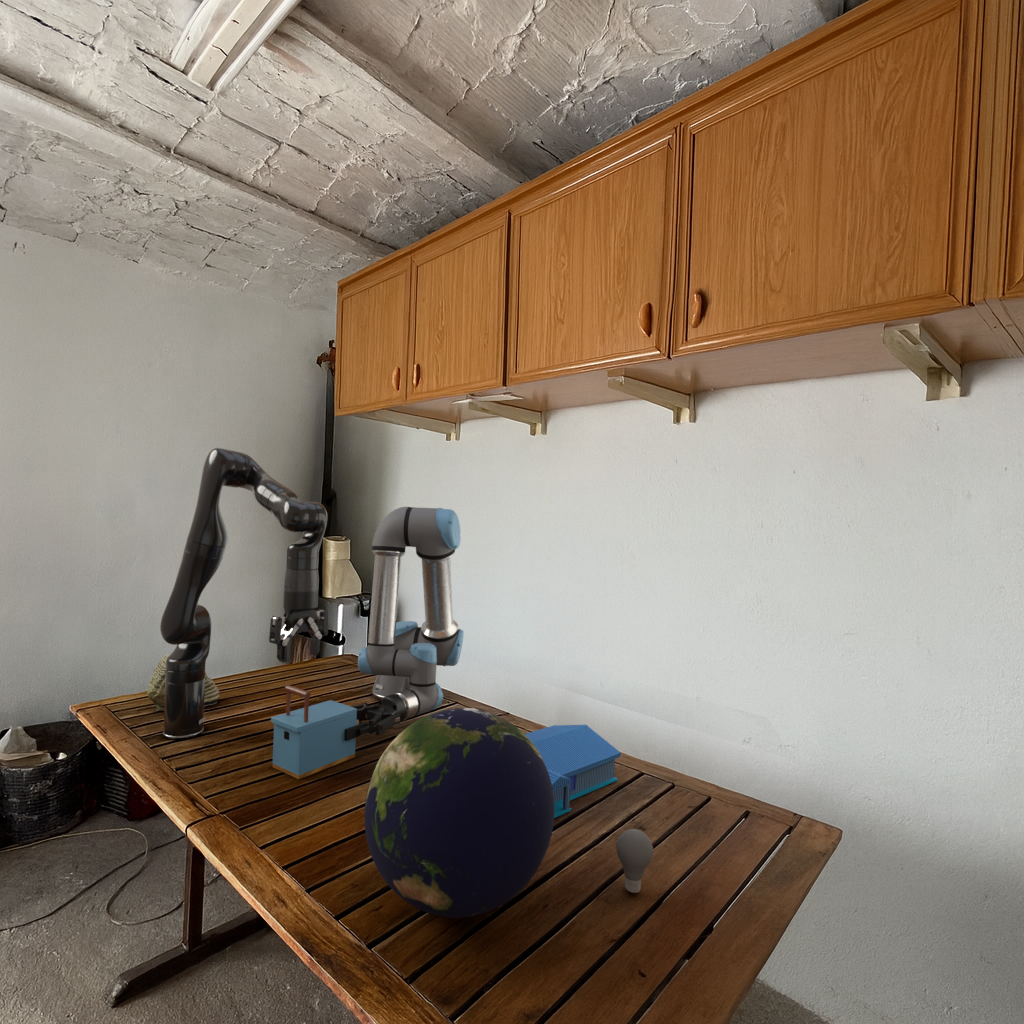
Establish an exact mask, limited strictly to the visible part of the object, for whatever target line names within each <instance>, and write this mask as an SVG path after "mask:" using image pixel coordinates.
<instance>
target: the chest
mask: <svg viewBox="0 0 1024 1024" xmlns="http://www.w3.org/2000/svg"><path fill="white" fill-rule="evenodd" d="M356 719H357V714H353V715H350V716H347V717H343V718H340V719H337V720H334V721H331V722H328V723H325V724H322V725H319V726H316V727H313V728H310V729H307V730H303V731H300V732H295V731H292V730H290V729H287V728H284V727H282V726H279V725H277V724H274V723H273V742H272V743H273V745H272V763H271V764H272V768H274V769H275V770H277V771H280V772H282V773H284V774H286V775H289V776H290V777H293V778H295V779H297V780H301V779H303V778H306V777H308V776H311V775H313V774H316V773H318V772H321V771H323V770H326V769H328V768H332V767H334V766H336V765H338V764H342V763H343V762H346V761H349V760H352V759H353V758H356V741H357V737H356V738H354V739H351V740H348V741H345V729H347V728H350V727H353V726H356Z"/></svg>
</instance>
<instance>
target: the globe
mask: <svg viewBox="0 0 1024 1024" xmlns="http://www.w3.org/2000/svg"><path fill="white" fill-rule="evenodd" d="M525 734H526V733H524V732H523V731H522V730H521V729H520V728H519V727H517V726H516V725H514V724H513V723H512V722H510V721H509V720H507V719H506V718H503V717H501V716H499V715H497V714H495V713H492V712H489V711H487V710H486V711H485V710H482V709H478V708H472V707H463V708H462V707H461V708H449V709H442V710H440V711H437V712H433V713H430V714H428V715H426V716H424V717H422V718H420V719H417V720H416V721H415V722H413V723H412V724H410V725H409V726H407V727H406V728H405V729H403V730H402V731H401V732H400V733H399V734H398V735H397V736H396V737H395V738H394V739H393V740H392V741H391V742H390V743H389V744H388V746H387V747H386V748H385V750H384V752H382V754H381V755H380V757H379V759H378V761H377V763H376V765H375V767H374V770H373V772H372V774H371V777H370V781H369V784H368V787H367V791H366V795H365V800H364V801H365V803H364V811H363V814H364V830H365V831H364V832H365V838H366V842H367V846H368V850H369V853H370V856H371V859H372V861H373V863H374V865H375V868H376V869H377V871H378V872H379V875H380V876H381V877H382V879H383V880H384V882H385V883H386V884H387V885H388V887H389V888H390V889H391V890H392V891H393V892H394V893H395V894H396V895H397V896H398V897H399V898H401V900H403V901H405V902H406V903H407V904H409V905H410V906H412V907H414V908H415V909H417V910H419V911H421V912H425V913H426V914H429V915H433V916H437V917H440V918H441V917H442V918H451V919H460V918H461V919H462V918H470V917H475V916H479V915H482V914H486V913H489V912H491V911H493V910H495V909H497V908H499V907H501V906H503V905H504V904H506V903H507V902H509V901H510V900H512V899H513V898H514V897H515V896H516V895H518V894H519V893H520V892H521V891H522V890H523V889H524V888H525V887H526V886H527V885H528V884H529V883H530V881H531V880H532V878H533V877H534V876H535V875H536V873H537V871H538V870H539V868H540V866H541V865H542V862H543V861H544V858H545V856H546V854H547V852H548V848H549V846H550V843H551V838H552V835H553V834H552V833H553V830H554V822H555V818H554V795H553V789H552V784H551V780H550V777H549V773H548V770H547V768H546V766H545V763H544V760H543V758H542V757H541V755H540V753H539V752H538V750H537V748H536V747H535V745H534V744H533V743H532V742H531V741H530V739H529V738H528V737H527V736H526V735H525Z"/></svg>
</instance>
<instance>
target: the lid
mask: <svg viewBox="0 0 1024 1024" xmlns="http://www.w3.org/2000/svg"><path fill="white" fill-rule="evenodd" d="M284 691H285V692H286V693H285V694H286V695H285V697H286V698H285V712H284V713H282V714H278V715H275V716H272V717H270V723H273V725H274V724H277V725H279V726H282V727H284V728H287V729H290V730H292V731H295V732H300V731H303V730H307V729H310V728H313V727H316V726H319V725H322V724H325V723H328V722H331V721H334V720H337V719H340V718H343V717H347V716H350V715H353V714H356V713H357V709H356V708H353V707H350V706H351V705H347V704H345V703H341V702H338V701H335V700H332V699H329V700H326V701H322V702H319V703H316V704H313V705H310V704H309V703H310V698H311V696H312V694H311V692H310V691H308V690H305V689H302V688H300V687H296V686H293V685H290V684H287V685H285V687H284ZM292 694H293V695H294V696H295V695H296V696H299V697H302V698H304V705H303V707H302V708H298V709H295V710H291V701H292V700H291V695H292Z"/></svg>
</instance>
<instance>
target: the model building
mask: <svg viewBox="0 0 1024 1024" xmlns="http://www.w3.org/2000/svg"><path fill="white" fill-rule="evenodd" d="M524 734H525V735H526V736H527V737H528V738H529V739H530V741H531V742H532V743H533V744H534V745H535V747H536V748H537V750H538V752H539V753H540V755H541V757H542V758H543V760H544V763H545V766H546V768H547V770H548V773H549V777H550V780H551V784H552V789H553V795H554V819H556V818H558V817H560V816H563V815H565V814H567V813H570V812H572V808H571V807H570V803H571V801H573V800H575V799H577V798H580V797H582V796H585V795H587V794H589V793H592V792H594V791H596V790H599V789H601V788H604V787H606V786H608V785H610V784H614V783H615V782H618V779H619V778H618V777H615V770H616V769H615V768H616V767H615V766H616V759H619V758H621V757H622V756H621V755H622V754H621V751H620V750H618V749H617V748H616V747H615V746H613V745H612V744H611V743H610V742H608V741H607V740H605V739H604V737H602V736H601V735H600V734H598V733H597V732H596V731H595V730H593V728H591V727H590V726H588V725H587V724H560V725H559V724H558V725H556V724H555V725H550V726H546V727H544V728H540V729H537V730H534V731H531V732H530V731H529V732H527V733H524Z"/></svg>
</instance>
